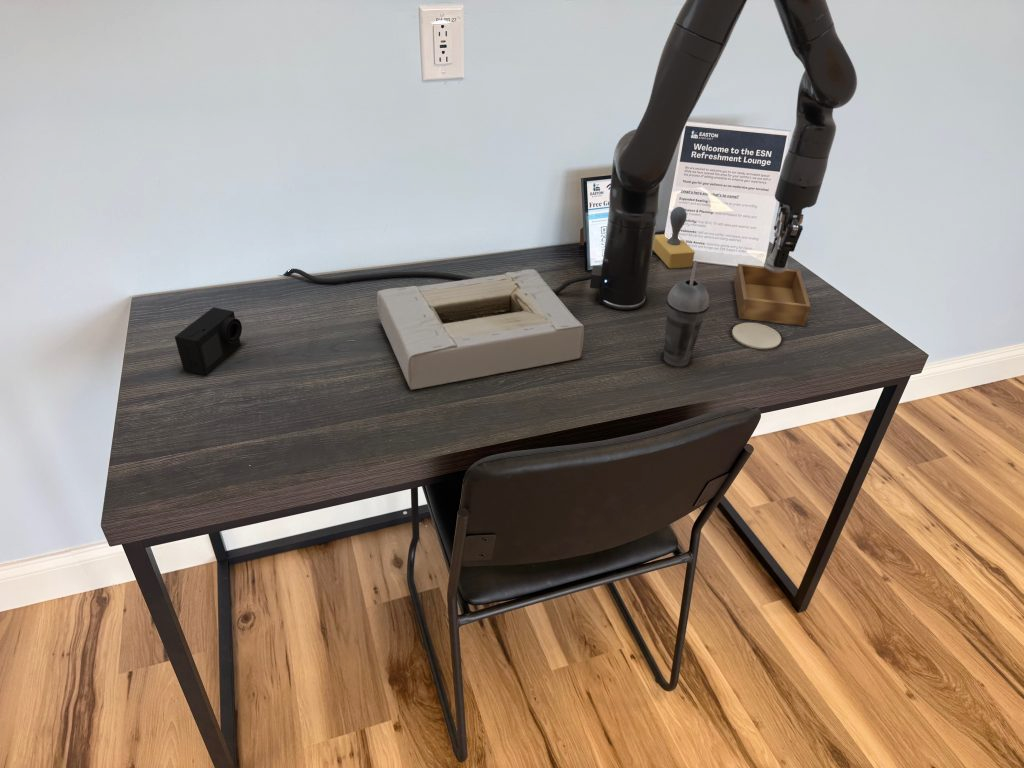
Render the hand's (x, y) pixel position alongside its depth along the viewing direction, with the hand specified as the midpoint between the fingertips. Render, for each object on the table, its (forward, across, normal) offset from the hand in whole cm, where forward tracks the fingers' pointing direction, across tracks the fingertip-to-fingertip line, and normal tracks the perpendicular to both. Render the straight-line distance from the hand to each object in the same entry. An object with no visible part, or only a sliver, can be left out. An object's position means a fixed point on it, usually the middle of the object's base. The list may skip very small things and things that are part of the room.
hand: (777, 260), depth 144 cm
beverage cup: (+10, +26, -18) cm, 33 cm away
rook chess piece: (+2, 0, 0) cm, 2 cm away
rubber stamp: (+10, -16, -19) cm, 27 cm away
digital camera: (+11, +43, -97) cm, 107 cm away
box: (+11, +27, -54) cm, 62 cm away
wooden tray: (+9, 0, 0) cm, 9 cm away
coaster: (+10, +14, -3) cm, 17 cm away
